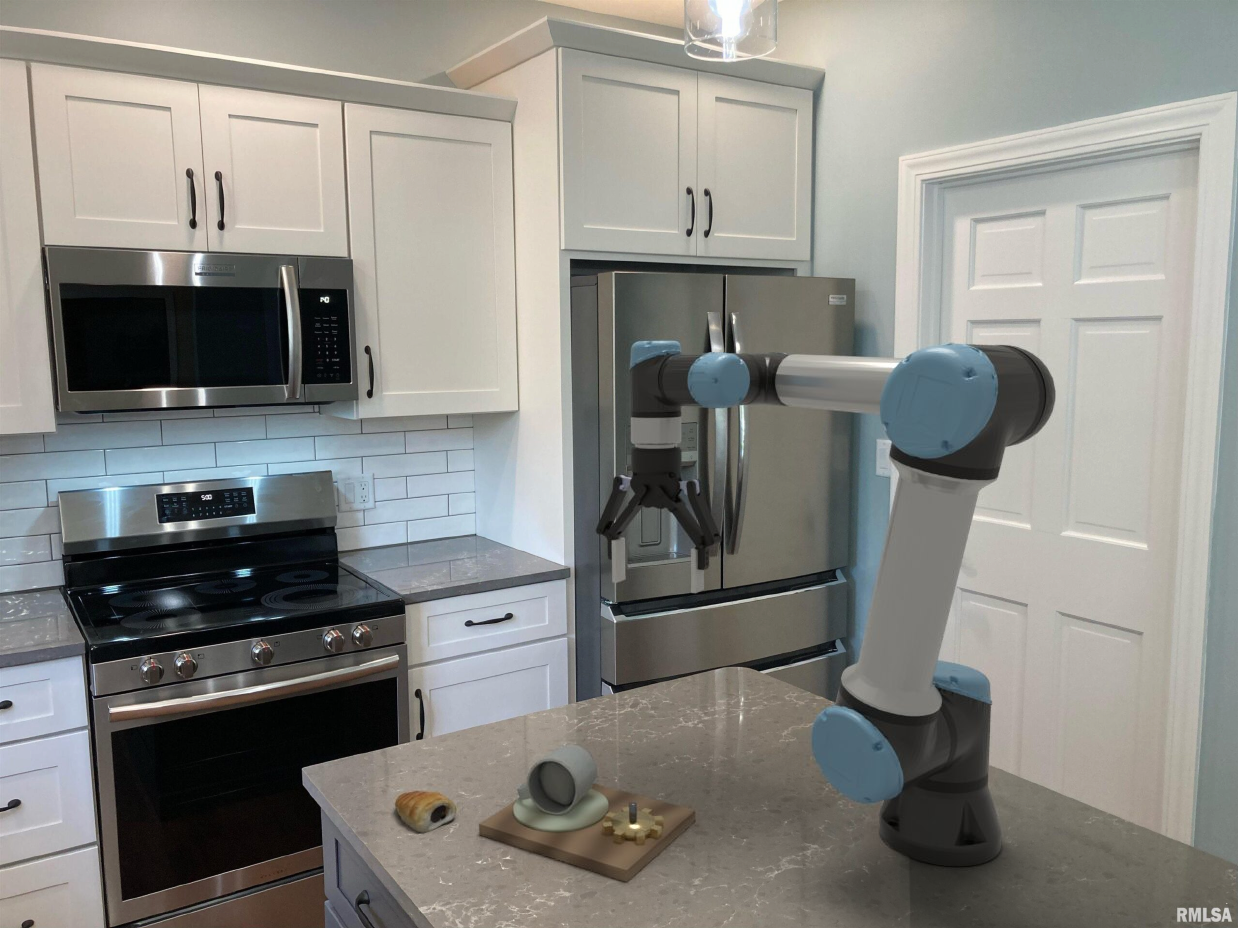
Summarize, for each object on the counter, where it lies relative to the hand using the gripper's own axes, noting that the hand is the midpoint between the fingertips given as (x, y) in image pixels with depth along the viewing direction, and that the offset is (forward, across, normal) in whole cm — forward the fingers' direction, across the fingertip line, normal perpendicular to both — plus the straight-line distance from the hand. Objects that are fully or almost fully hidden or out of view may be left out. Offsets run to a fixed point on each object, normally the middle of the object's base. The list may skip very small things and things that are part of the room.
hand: (657, 586), depth 143 cm
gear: (+27, -8, +21) cm, 35 cm away
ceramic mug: (+27, +5, +20) cm, 34 cm away
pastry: (+29, +20, +30) cm, 47 cm away
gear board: (+29, -1, +21) cm, 36 cm away
